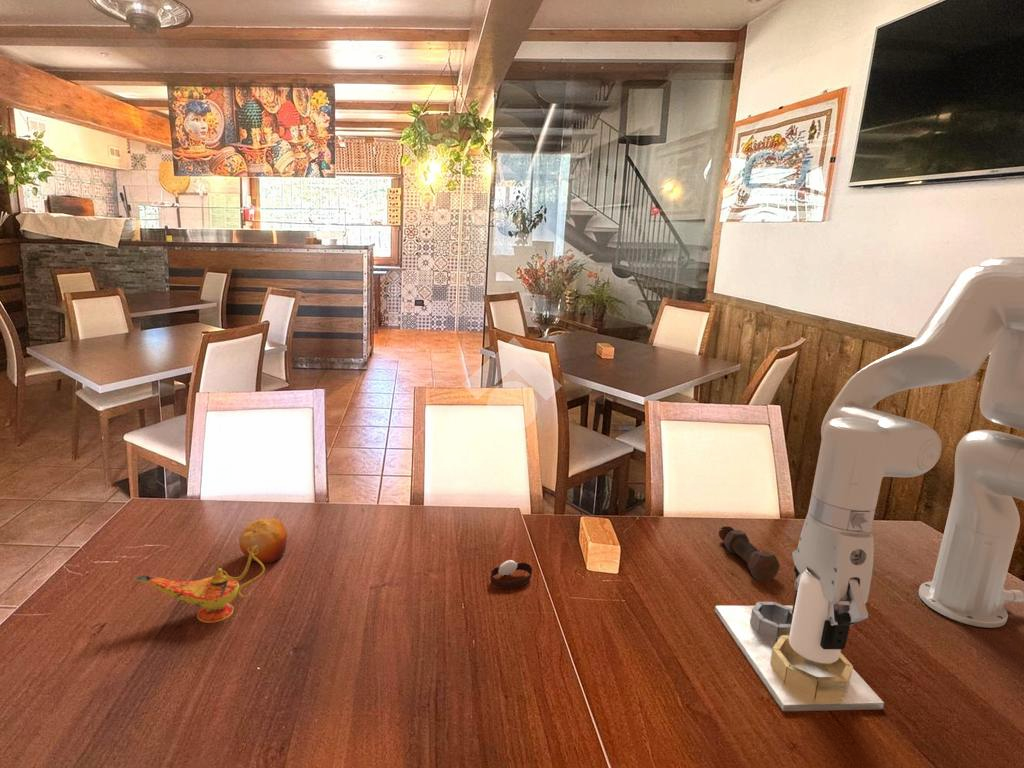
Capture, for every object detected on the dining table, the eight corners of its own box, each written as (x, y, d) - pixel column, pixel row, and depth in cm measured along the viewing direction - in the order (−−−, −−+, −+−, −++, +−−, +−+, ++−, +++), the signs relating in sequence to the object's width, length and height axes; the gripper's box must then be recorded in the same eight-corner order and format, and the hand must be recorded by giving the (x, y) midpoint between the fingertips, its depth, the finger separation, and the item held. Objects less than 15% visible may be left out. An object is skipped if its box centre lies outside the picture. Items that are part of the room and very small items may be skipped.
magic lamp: (146, 605, 95) (140, 540, 93) (270, 596, 99) (267, 533, 97) (130, 633, 89) (122, 564, 86) (263, 622, 93) (260, 555, 90)
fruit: (306, 543, 113) (285, 517, 108) (275, 579, 109) (252, 553, 104) (277, 530, 117) (257, 504, 112) (246, 564, 113) (224, 539, 108)
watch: (524, 571, 111) (525, 552, 110) (537, 584, 107) (538, 565, 106) (485, 579, 108) (486, 560, 107) (496, 593, 104) (497, 574, 103)
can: (836, 672, 82) (853, 591, 79) (784, 653, 85) (799, 575, 82) (841, 647, 87) (857, 570, 84) (791, 629, 90) (805, 555, 88)
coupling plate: (794, 610, 103) (798, 592, 102) (882, 709, 82) (887, 686, 81) (714, 611, 102) (717, 592, 101) (782, 711, 81) (786, 688, 80)
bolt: (726, 549, 127) (767, 587, 113) (708, 538, 126) (747, 575, 111) (742, 525, 127) (785, 561, 112) (724, 515, 125) (765, 549, 111)
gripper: (914, 544, 73) (884, 674, 77) (829, 486, 90) (808, 595, 94) (855, 543, 72) (827, 675, 77) (780, 485, 89) (761, 595, 93)
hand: (817, 630), depth 85 cm, fingers closed on can, 6 cm apart
